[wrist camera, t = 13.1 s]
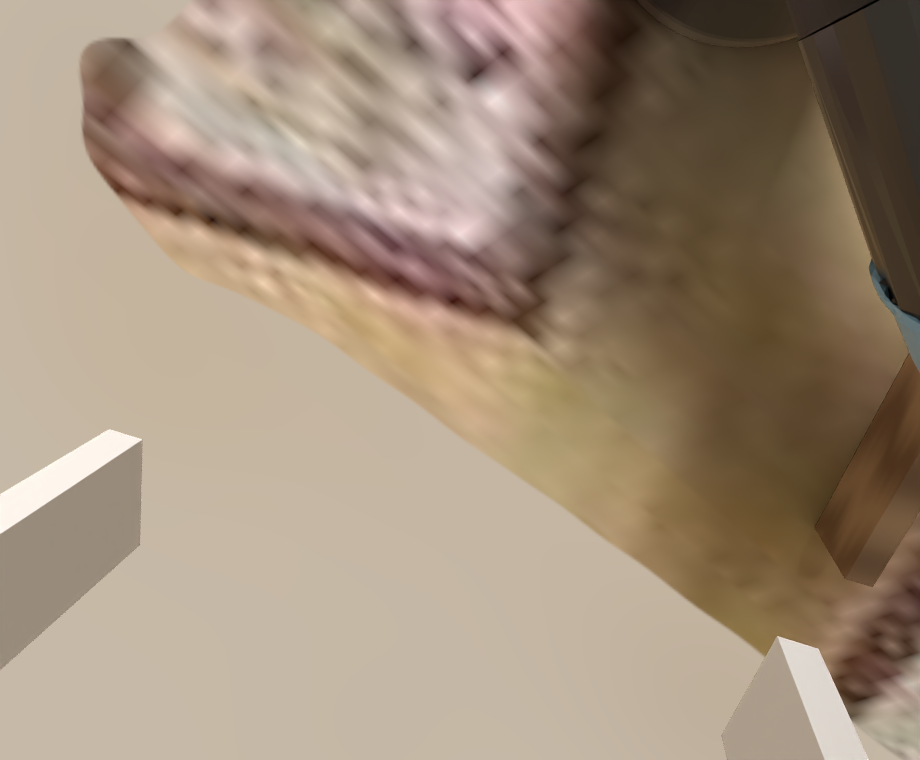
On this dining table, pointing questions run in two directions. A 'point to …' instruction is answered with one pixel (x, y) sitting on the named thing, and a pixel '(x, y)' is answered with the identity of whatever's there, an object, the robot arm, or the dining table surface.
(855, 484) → the brown l-shaped piece
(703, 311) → the dining table surface
